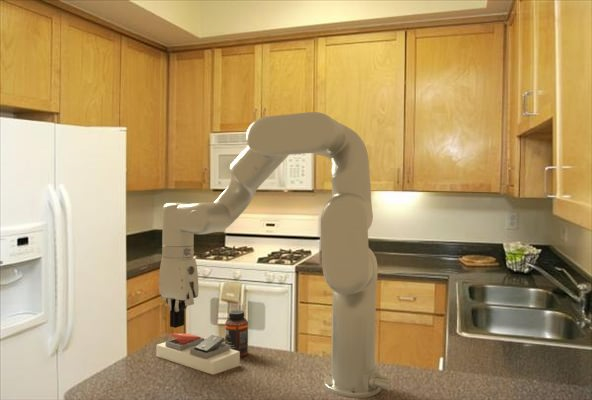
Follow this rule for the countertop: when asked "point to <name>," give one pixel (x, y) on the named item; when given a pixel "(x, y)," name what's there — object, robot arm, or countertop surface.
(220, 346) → the rocker switch panel
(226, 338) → the supplement bottle
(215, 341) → the black rocker
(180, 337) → the red rocker
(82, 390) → the countertop surface
